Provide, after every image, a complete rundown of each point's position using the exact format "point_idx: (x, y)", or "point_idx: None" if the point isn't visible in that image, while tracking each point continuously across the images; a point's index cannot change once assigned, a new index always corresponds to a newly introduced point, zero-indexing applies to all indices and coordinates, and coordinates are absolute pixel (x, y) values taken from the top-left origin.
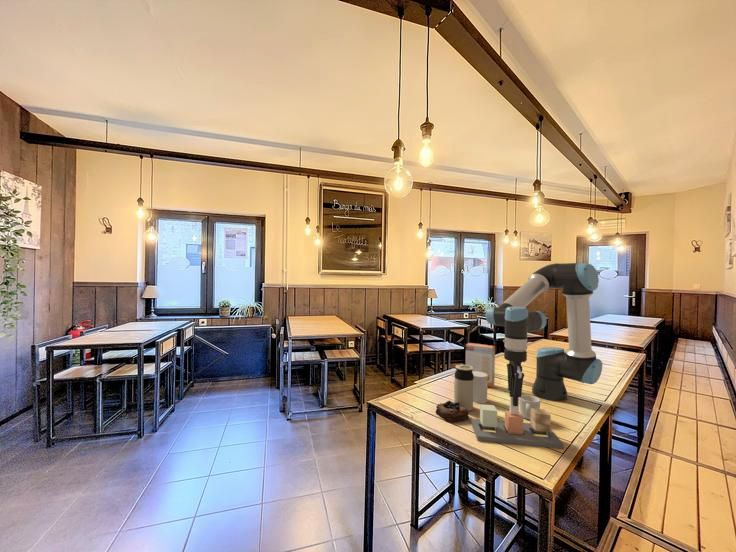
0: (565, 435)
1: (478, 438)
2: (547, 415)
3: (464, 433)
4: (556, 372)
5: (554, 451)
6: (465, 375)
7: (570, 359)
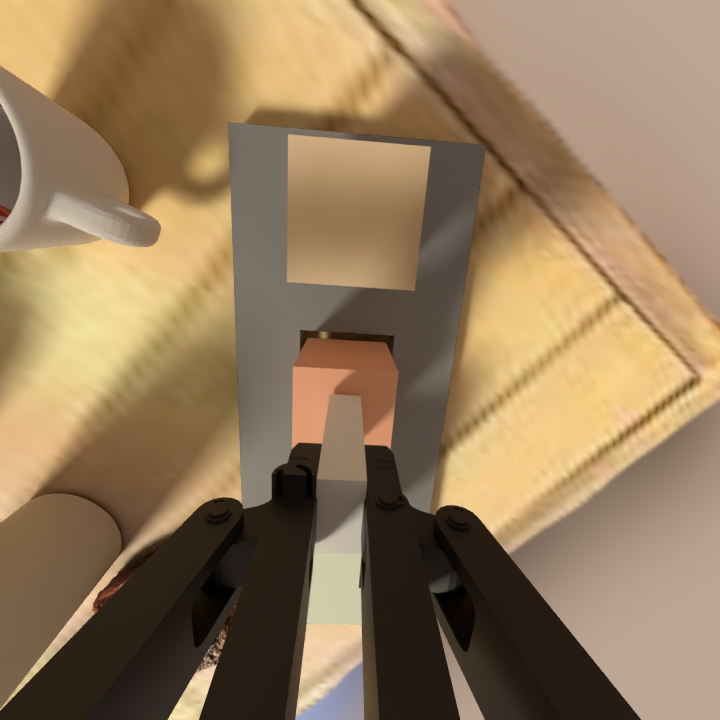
0: (310, 38)
1: None
2: (425, 180)
3: None
4: None
5: (504, 224)
6: None
7: None
